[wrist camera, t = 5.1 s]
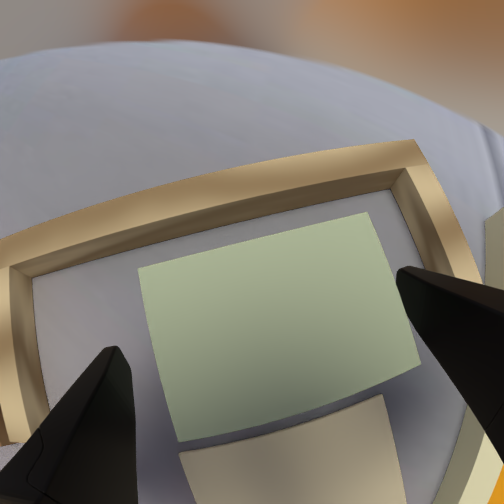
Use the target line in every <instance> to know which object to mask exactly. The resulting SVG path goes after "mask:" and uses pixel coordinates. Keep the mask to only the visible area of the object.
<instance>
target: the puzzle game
mask: <svg viewBox="0 0 504 504" xmlns="http://www.w3.org/2000/svg"><path fill="white" fill-rule="evenodd" d="M485 239H486V268H485V285H487V286H491V287H494V288H498V289H502V290H504V207H503V208H501V209H500V210H499V211H498V212H496V213H495V214H494V215H492V216H491V217H490V218H488V219H487V220H486V221H485ZM433 504H504V464H503V462H502V460H501V458H500V457H499V455H498V453H497V452H496V450H495V448H494V446H493V445H492V443H491V441H490V440H489V438H488V436H487V435H486V433H485V431H484V430H483V428H482V426H481V425H480V423H479V422H478V420H477V418H476V417H475V415H474V414H473V412H472V411H471V409H470V407H469V406H468V404H467V408H466V412H465V415H464V419H463V423H462V426H461V430H460V433H459V436H458V439H457V442H456V446H455V449H454V452H453V454H452V457H451V460H450V463H449V466H448V468H447V471H446V473H445V476H444V478H443V481H442V483H441V486H440V488H439V491H438V493H437V495H436V497H435V500H434V502H433Z"/></svg>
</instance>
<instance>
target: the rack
mask: <svg viewBox="0 0 504 504" xmlns="http://www.w3.org/2000/svg"><path fill="white" fill-rule="evenodd" d="M385 189H391V191H392V193H393V195H394V197H395V199H396V201H397V203H398V205H399V208H400V210H401V212H402V214H403V216H404V218H405V221H406V223H407V225H408V228H409V230H410V232H411V234H412V237H413V239H414V242H415V244H416V246H417V249H418V251H419V254H420V256H421V259H422V261H423V264H424V267H425V269H426V270H429V271H433V272H437V273H441V274H445V275H448V276H452V277H456V278H460V279H464V280H468V281H472V282H475V283H479V284H483V283H482V280H481V277H480V274H479V272H478V269H477V266H476V264H475V261H474V258H473V256H472V253H471V251H470V248H469V246H468V243H467V241H466V239H465V236H464V234H463V232H462V229H461V227H460V225H459V223H458V220H457V218H456V216H455V214H454V212H453V210H452V208H451V206H450V203H449V201H448V199H447V197H446V195H445V193H444V191H443V189H442V188H441V186H440V184H439V182H438V180H437V178H436V176H435V174H434V173H433V171H432V169H431V167H430V165H429V164H428V162H427V160H426V158H425V157H424V155H423V153H422V152H421V150H420V148H419V146H418V145H417V143H416V142H415V140H414V139H411V140H401V141H392V142H383V143H375V144H367V145H359V146H352V147H345V148H338V149H331V150H325V151H319V152H313V153H307V154H301V155H295V156H290V157H284V158H279V159H274V160H269V161H263V162H259V163H254V164H249V165H244V166H239V167H235V168H230V169H226V170H221V171H217V172H213V173H208V174H204V175H200V176H196V177H192V178H188V179H184V180H180V181H176V182H172V183H169V184H165V185H161V186H157V187H154V188H150V189H147V190H143V191H139V192H136V193H133V194H129V195H126V196H122V197H119V198H116V199H112V200H109V201H106V202H103V203H100V204H96V205H93V206H90V207H87V208H84V209H81V210H78V211H75V212H72V213H69V214H66V215H63V216H61V217H58V218H55V219H52V220H49V221H47V222H44V223H41V224H38V225H36V226H33V227H30V228H28V229H25V230H23V231H20V232H17V233H15V234H12V235H10V236H7V237H5V238H2V239H0V405H1V409H2V414H3V418H4V422H5V426H6V430H7V433H8V437H9V441H10V442H21V443H26V442H27V440H28V439H29V438H30V437H31V435H32V434H33V433H34V432H35V430H36V429H37V428H39V425H40V424H41V423H42V422H43V420H44V419H45V418H46V417H47V415H48V414H49V413H50V409H49V405H48V401H47V397H46V392H45V387H44V382H43V377H42V372H41V366H40V360H39V353H38V346H37V339H36V330H35V321H34V310H33V295H32V278H34V277H37V276H40V275H44V274H47V273H50V272H54V271H57V270H61V269H64V268H67V267H71V266H74V265H78V264H81V263H85V262H88V261H92V260H95V259H99V258H103V257H106V256H110V255H113V254H117V253H121V252H124V251H128V250H132V249H135V248H139V247H143V246H146V245H150V244H154V243H158V242H162V241H165V240H169V239H173V238H177V237H181V236H185V235H189V234H193V233H197V232H200V231H204V230H208V229H212V228H217V227H221V226H225V225H229V224H233V223H237V222H241V221H245V220H249V219H254V218H258V217H262V216H266V215H271V214H275V213H279V212H283V211H288V210H292V209H297V208H301V207H305V206H310V205H314V204H319V203H323V202H328V201H333V200H337V199H342V198H346V197H351V196H356V195H361V194H365V193H370V192H375V191H380V190H385Z"/></svg>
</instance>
